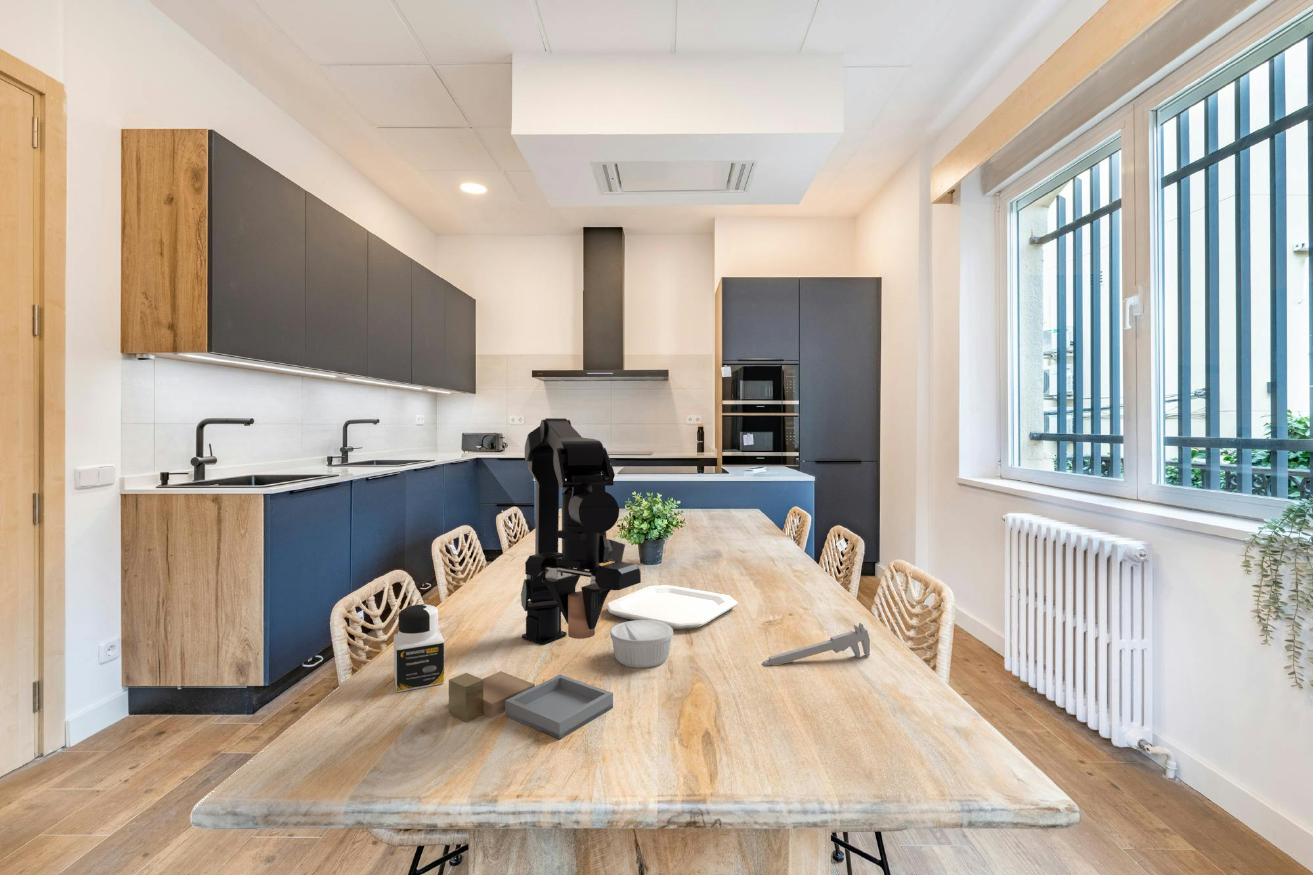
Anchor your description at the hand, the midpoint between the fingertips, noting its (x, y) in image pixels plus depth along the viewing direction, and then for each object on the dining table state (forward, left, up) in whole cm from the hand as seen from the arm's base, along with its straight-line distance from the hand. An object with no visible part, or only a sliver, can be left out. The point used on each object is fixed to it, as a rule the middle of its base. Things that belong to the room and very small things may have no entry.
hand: (581, 626), depth 89 cm
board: (+7, -11, -12) cm, 18 cm away
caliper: (-36, +23, -12) cm, 45 cm away
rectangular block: (+13, -11, -12) cm, 20 cm away
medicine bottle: (+10, -27, -12) cm, 31 cm away
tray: (+4, 0, -12) cm, 12 cm away
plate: (-45, -14, -12) cm, 48 cm away
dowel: (0, 0, -1) cm, 1 cm away
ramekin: (-19, -3, -12) cm, 22 cm away
